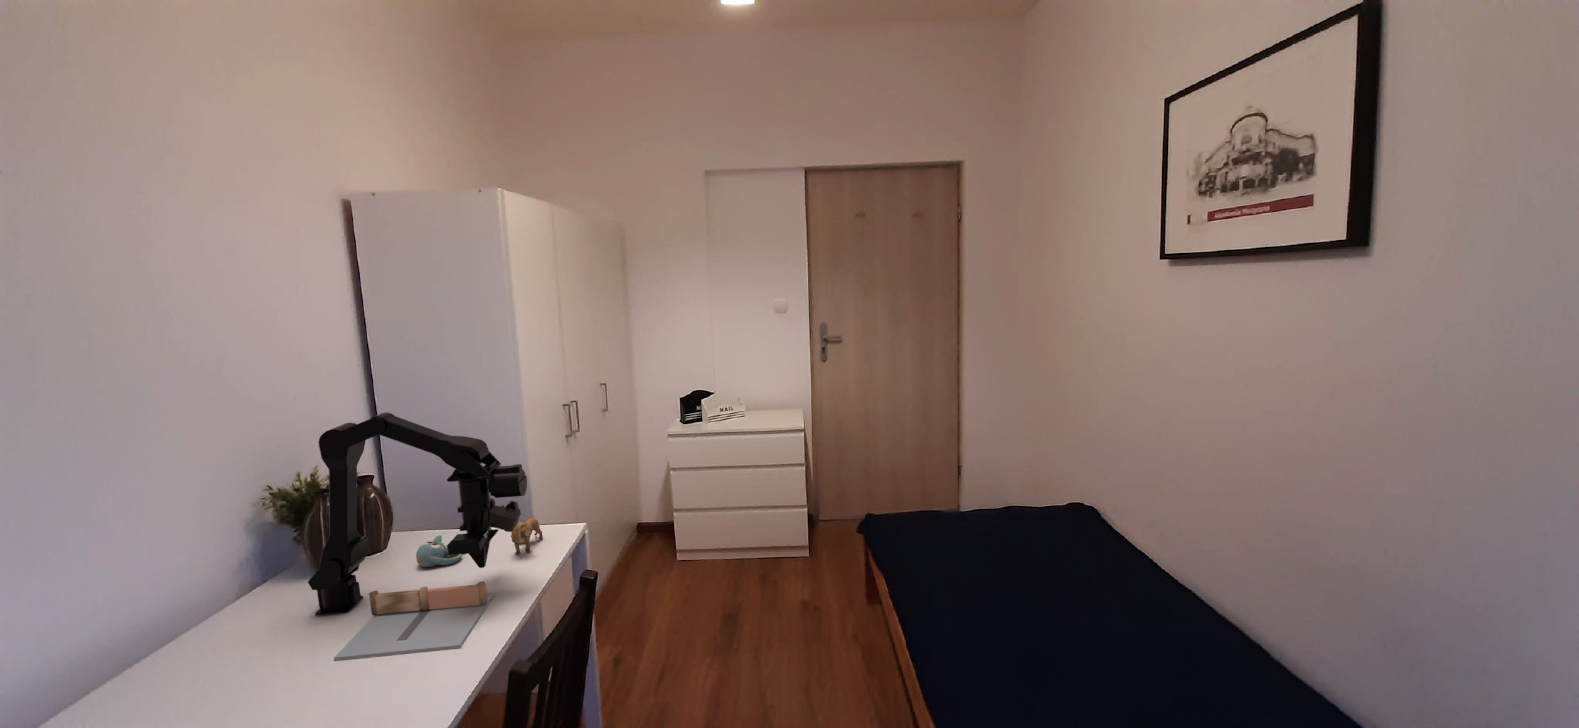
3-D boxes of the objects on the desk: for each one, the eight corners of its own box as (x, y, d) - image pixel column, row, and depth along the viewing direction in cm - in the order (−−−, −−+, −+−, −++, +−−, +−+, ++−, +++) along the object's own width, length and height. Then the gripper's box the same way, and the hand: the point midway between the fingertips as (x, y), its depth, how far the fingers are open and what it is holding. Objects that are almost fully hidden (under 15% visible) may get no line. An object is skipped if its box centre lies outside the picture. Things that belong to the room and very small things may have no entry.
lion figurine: (532, 559, 156) (529, 525, 155) (509, 561, 155) (506, 527, 154) (545, 535, 170) (542, 503, 169) (524, 537, 170) (521, 505, 168)
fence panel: (421, 610, 132) (418, 590, 131) (424, 606, 133) (422, 586, 133) (485, 604, 133) (483, 584, 133) (488, 600, 135) (486, 581, 134)
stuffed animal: (479, 534, 159) (430, 543, 149) (476, 563, 159) (428, 574, 149) (455, 526, 165) (407, 534, 155) (453, 554, 165) (404, 563, 155)
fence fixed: (370, 615, 130) (367, 595, 130) (374, 611, 132) (371, 591, 131) (419, 610, 132) (416, 590, 131) (422, 606, 133) (420, 586, 132)
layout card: (334, 660, 117) (333, 657, 117) (387, 604, 136) (387, 601, 136) (460, 647, 119) (459, 644, 119) (494, 595, 139) (494, 592, 139)
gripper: (500, 511, 128) (508, 584, 130) (526, 481, 146) (532, 545, 148) (442, 516, 126) (450, 589, 129) (475, 485, 145) (482, 549, 147)
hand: (482, 567), depth 138 cm, fingers closed
